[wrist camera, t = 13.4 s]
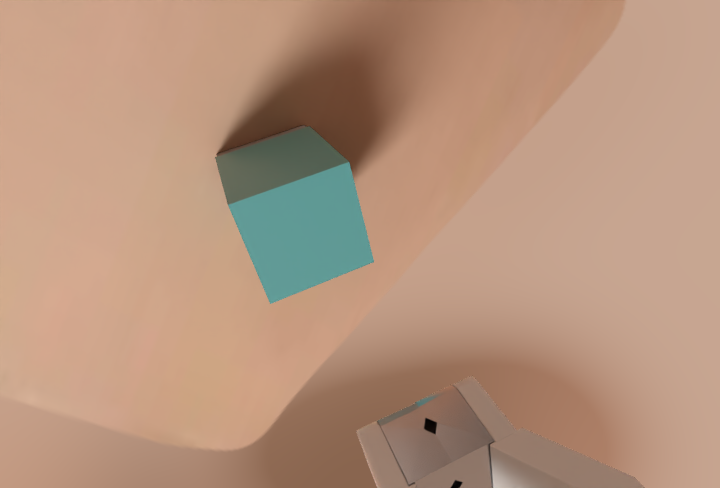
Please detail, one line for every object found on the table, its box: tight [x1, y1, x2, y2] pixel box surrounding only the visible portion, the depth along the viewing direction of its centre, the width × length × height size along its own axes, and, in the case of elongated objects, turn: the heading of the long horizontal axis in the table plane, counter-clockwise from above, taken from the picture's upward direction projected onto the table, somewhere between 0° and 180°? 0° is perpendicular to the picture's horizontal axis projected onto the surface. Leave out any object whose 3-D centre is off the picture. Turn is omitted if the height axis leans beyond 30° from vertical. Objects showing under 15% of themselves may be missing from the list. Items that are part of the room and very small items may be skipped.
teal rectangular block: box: [215, 126, 374, 304], centre depth 22 cm, size 5×5×7 cm
